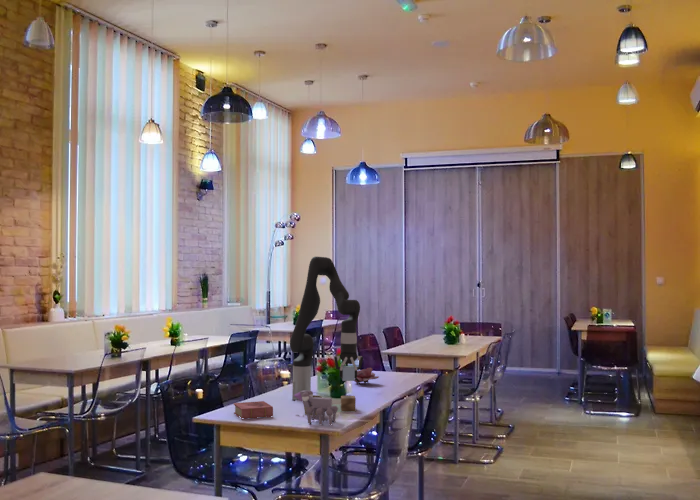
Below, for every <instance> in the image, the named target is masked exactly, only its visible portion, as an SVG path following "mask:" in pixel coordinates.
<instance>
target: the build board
mask: <svg viewBox="0 0 700 500" xmlns="http://www.w3.org/2000/svg"><path fill="white" fill-rule="evenodd" d="M332 406H337V408H338V411H337V412H336V413H357V410H356V409H355V411H341V403H339V404H338V403H337V404H336V403H332Z"/></svg>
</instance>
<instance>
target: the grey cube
mask: <svg viewBox="0 0 700 500" xmlns="http://www.w3.org/2000/svg"><path fill="white" fill-rule="evenodd" d="M341 380H342V382H355V368H354V367H353V365H350V366H349V365H348V366H345V365H344V367H343V379H341Z"/></svg>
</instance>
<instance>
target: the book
mask: <svg viewBox="0 0 700 500" xmlns="http://www.w3.org/2000/svg"><path fill="white" fill-rule="evenodd" d="M233 406H235V407H234V409H235V410H234V412H233V415H235V414H236V415H235V416H237V417H238V416H240V417H241V418H254V419H258V418H257V417H267V418H272V417H271V416H273V417H274V407H273V405H271V404H269V403H268V402H266V401H264V400H261V401H260V400H259V401H247V402H246V401H245V402H234V403H233Z"/></svg>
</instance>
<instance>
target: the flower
mask: <svg viewBox="0 0 700 500" xmlns="http://www.w3.org/2000/svg"><path fill="white" fill-rule="evenodd" d="M379 378H380V376H378V375H377V376H376V373H374V372H373V368H372V367H367V368H363V369H362V368H361V369H359V370H357V377H356V379H355V381H354V382H355V384H359V385H361V383H362V382H363V383H364V385H366V383H367V384H369V380H376V379H377V380H378V379H379Z"/></svg>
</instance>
